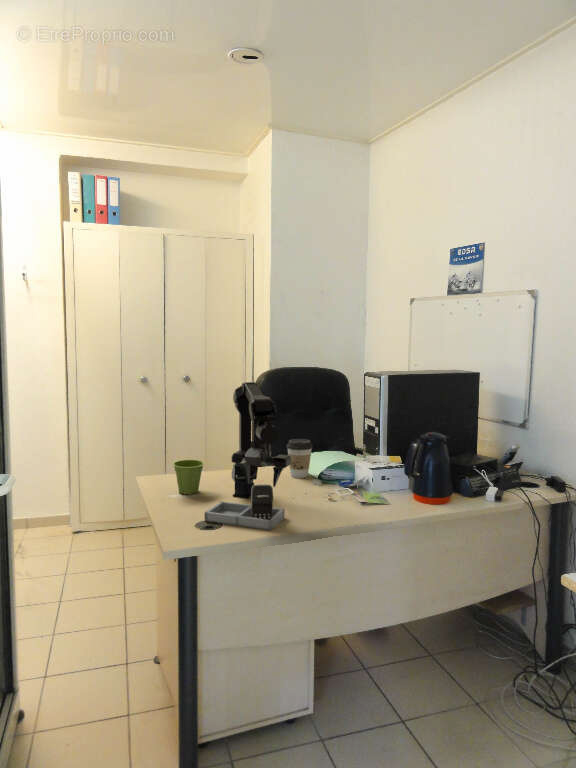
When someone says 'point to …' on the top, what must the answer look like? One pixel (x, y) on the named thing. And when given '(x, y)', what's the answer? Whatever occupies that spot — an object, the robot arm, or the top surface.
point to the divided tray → (242, 516)
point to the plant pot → (188, 475)
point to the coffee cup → (299, 457)
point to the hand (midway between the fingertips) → (261, 484)
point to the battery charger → (262, 501)
